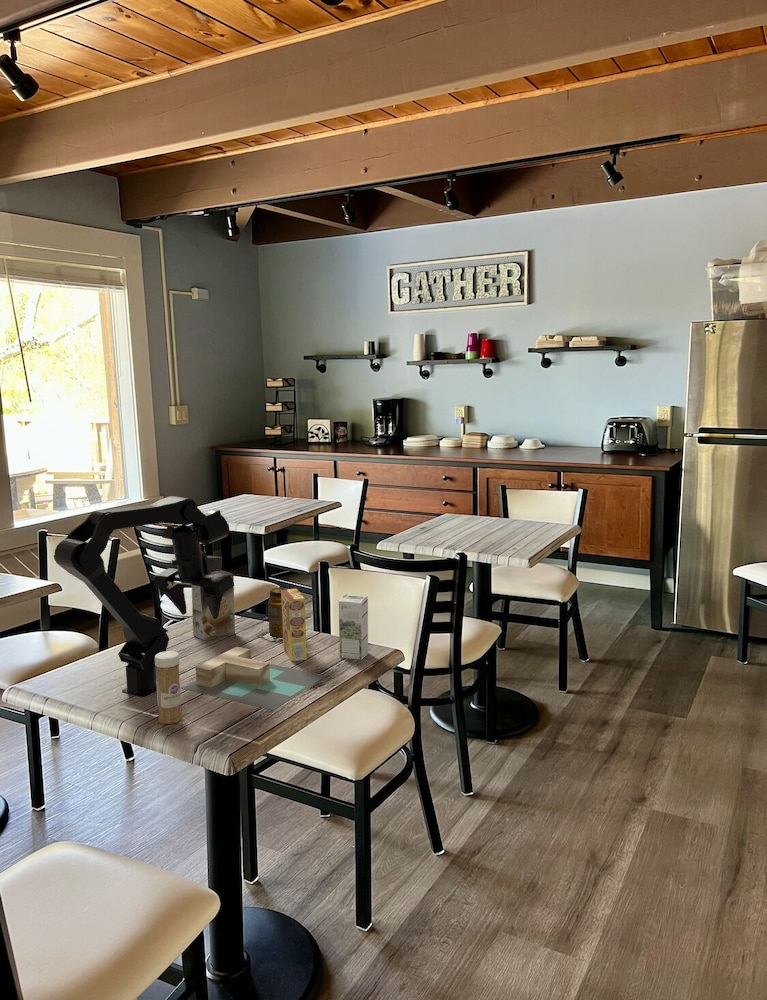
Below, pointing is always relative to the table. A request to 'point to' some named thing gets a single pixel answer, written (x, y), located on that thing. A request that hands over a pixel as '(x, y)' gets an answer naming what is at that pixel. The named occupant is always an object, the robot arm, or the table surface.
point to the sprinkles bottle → (168, 687)
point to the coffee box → (202, 616)
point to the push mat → (263, 688)
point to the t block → (233, 669)
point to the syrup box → (353, 626)
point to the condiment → (275, 614)
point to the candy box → (294, 624)
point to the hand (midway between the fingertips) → (200, 616)
